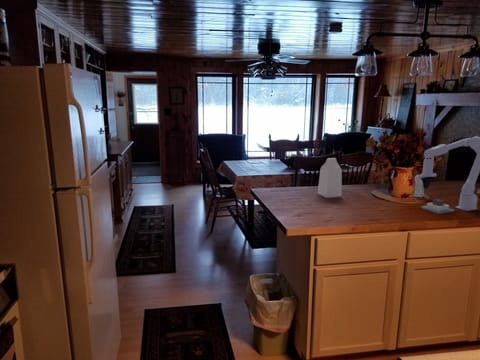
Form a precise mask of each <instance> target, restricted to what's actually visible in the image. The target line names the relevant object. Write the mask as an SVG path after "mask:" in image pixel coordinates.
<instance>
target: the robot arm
mask: <svg viewBox="0 0 480 360" xmlns="http://www.w3.org/2000/svg"><path fill="white" fill-rule="evenodd" d="M459 147H467V148H468V147H470V148H471V149H472V150H474V152H475V153H476V156H475V159H474V162H473V164H472V167H471V168H470V172H469V175H468V177H467V179H466V181H465V183H463V185H462V187H461V189H460V190H461V192H460V194H459V202H458V206H455V208H456V209H460V210H463V211H466V212H467V211H468V212H470V211H475V210H478V208H477V206H478V196H477V195H476V194H475V193H474V192H475V189H476V186H475V185H476V182H477V179H478V176H479V175H480V136H477V135H475V136H473V137H467V138H463V139H460V140H458V141H454V142H452V143H450V144H445V143H443V144H442V143H440V144H438V145H437V146H432V147H431V148H428V149H426V150H425V151H424V153H423V156H424V157H425V159H423V163H422V165H423V166H422V172H421V174H417V175H418V177H417V178H421V180H422V182H423V187H424V190H425V189H428V188H429V187H430V184H431V183H432V181H433V180H434V179H433V178H434V177H435V178H436V177H437V173H436V172H435V173H434V172H433V170H434V165H435V163H434V162H435V160H434V158H435V157H439V156H441V155H444V154H447V153H448V152H449V151H451V150H453V149H456V148H459ZM427 158H428V159H427ZM430 158H431V159H430Z"/></svg>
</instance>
